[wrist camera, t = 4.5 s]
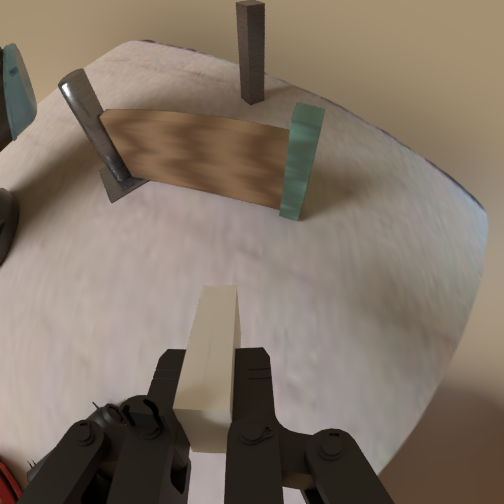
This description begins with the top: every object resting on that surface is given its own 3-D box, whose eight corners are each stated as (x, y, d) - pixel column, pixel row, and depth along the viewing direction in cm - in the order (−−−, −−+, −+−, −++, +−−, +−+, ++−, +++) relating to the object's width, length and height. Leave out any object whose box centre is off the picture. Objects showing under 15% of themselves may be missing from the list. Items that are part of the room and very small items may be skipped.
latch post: (250, 104, 36) (246, 5, 21) (241, 97, 37) (235, 2, 22) (263, 99, 37) (264, 3, 22) (254, 92, 37) (253, -1, 23)
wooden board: (132, 181, 31) (87, 101, 19) (140, 168, 32) (99, 88, 20) (298, 220, 28) (321, 126, 16) (302, 204, 29) (325, 109, 17)
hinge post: (111, 203, 30) (43, 108, 16) (100, 173, 32) (44, 84, 18) (153, 177, 32) (103, 70, 17) (138, 150, 33) (95, 53, 19)
